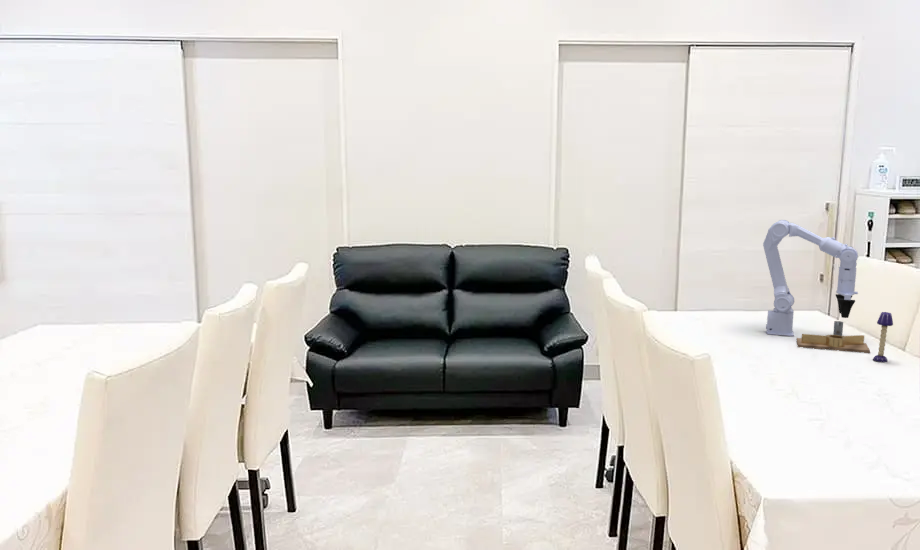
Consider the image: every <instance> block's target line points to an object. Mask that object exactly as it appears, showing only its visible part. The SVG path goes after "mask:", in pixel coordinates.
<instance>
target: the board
mask: <svg viewBox="0 0 920 550" xmlns="http://www.w3.org/2000/svg"><path fill="white" fill-rule="evenodd" d="M796 340H797V341H796V344H797V345H798V346H797V345H796V346H797V348H800V347H803V348H802V349H813V348H814V350H815V349H816V350H817V349H818V350H825V349H826V350H827V351H837V350H839V351H838V352H850V353H851V352H852V353H861V352H864V354H870V353H871V350H870V348H869V346H868V345H867V343H865V342H864V344H860V345H845V347H839V348H838V347H830V346H827V345H821V344H809V343H801V340H802V337H796Z"/></svg>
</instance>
